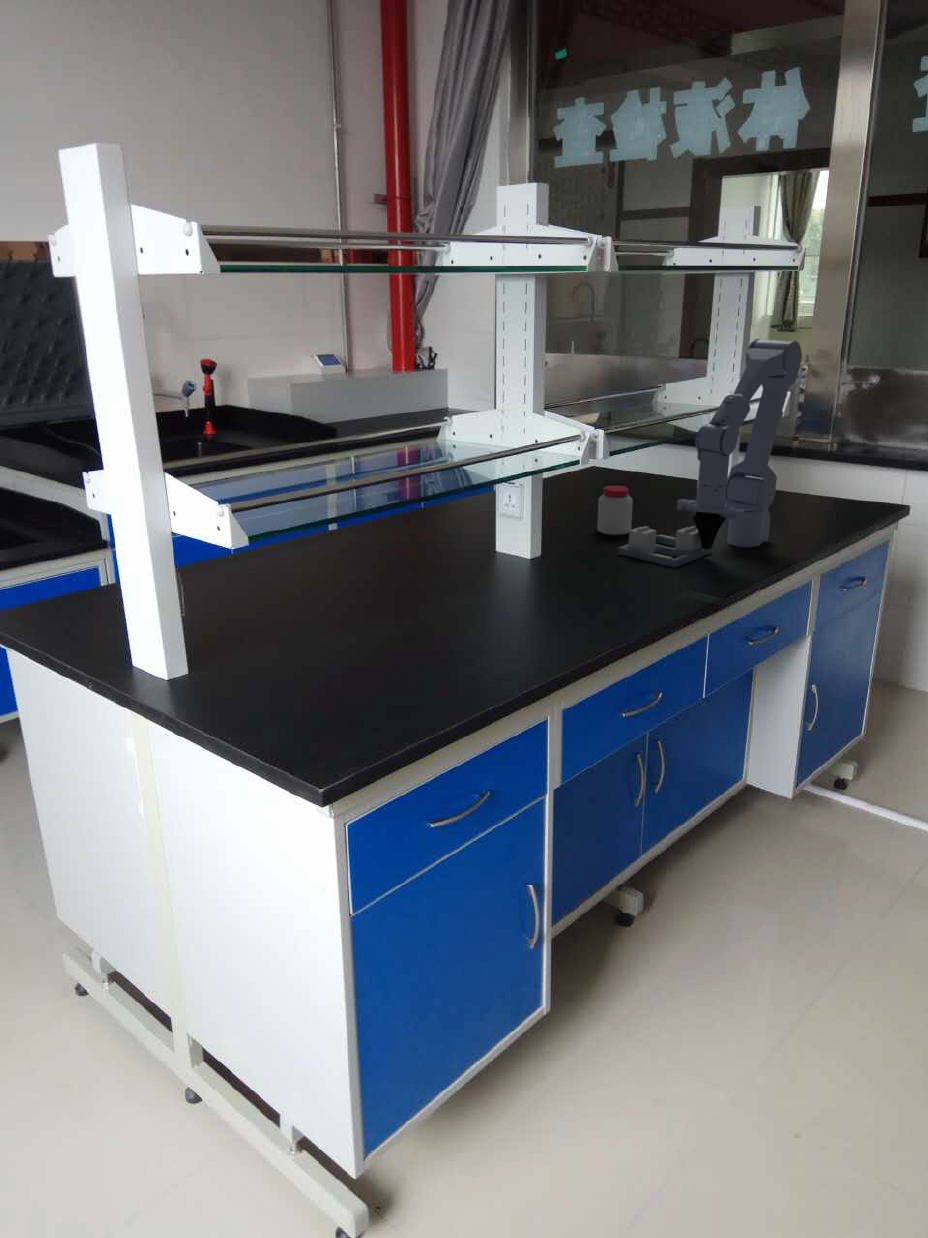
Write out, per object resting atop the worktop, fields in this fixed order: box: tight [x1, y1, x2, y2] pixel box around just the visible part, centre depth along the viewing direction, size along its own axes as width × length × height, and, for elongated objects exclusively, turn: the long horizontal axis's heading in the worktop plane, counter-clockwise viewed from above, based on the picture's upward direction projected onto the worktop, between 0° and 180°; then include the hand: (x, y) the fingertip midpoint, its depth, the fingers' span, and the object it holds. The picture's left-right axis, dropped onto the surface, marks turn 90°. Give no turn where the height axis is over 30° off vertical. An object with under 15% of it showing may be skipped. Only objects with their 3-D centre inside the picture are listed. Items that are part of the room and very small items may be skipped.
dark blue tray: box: [618, 533, 713, 568], centre depth 199 cm, size 14×19×3 cm
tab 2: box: [674, 525, 701, 552], centre depth 196 cm, size 4×4×6 cm
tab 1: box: [628, 525, 657, 554], centre depth 197 cm, size 4×4×6 cm
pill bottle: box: [596, 485, 634, 536], centre depth 214 cm, size 8×8×11 cm
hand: (706, 548), depth 194 cm, fingers closed
